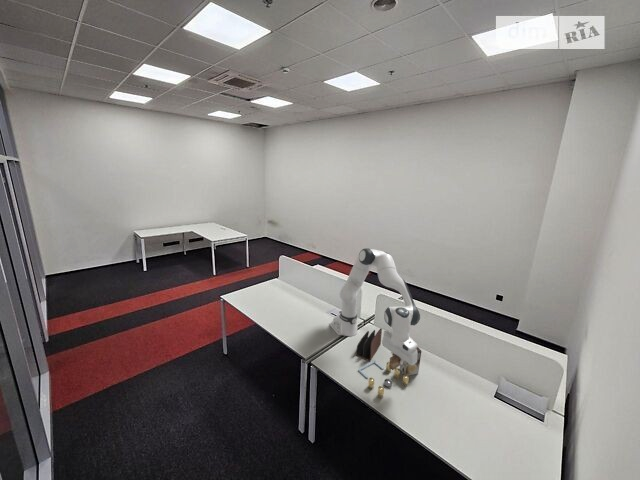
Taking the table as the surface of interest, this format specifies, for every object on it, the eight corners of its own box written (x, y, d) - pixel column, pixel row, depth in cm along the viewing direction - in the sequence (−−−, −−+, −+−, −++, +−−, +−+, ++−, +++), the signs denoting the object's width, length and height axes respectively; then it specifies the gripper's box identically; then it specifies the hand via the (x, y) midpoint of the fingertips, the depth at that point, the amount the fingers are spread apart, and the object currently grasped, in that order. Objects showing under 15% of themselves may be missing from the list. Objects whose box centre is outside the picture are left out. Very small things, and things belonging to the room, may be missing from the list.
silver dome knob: (383, 386, 147) (383, 383, 146) (384, 380, 151) (384, 377, 150) (391, 389, 145) (391, 386, 145) (392, 383, 149) (392, 380, 149)
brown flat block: (389, 367, 139) (389, 357, 137) (401, 359, 144) (402, 350, 143) (392, 370, 137) (393, 360, 135) (404, 362, 142) (405, 352, 141)
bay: (358, 370, 157) (358, 369, 157) (374, 361, 165) (374, 360, 165) (366, 378, 152) (367, 377, 151) (383, 369, 159) (383, 368, 159)
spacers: (363, 383, 149) (363, 375, 147) (388, 368, 160) (388, 361, 159) (383, 402, 137) (384, 394, 136) (408, 384, 149) (409, 377, 147)
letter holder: (380, 344, 182) (382, 326, 178) (370, 361, 165) (372, 342, 162) (367, 339, 187) (368, 322, 183) (355, 355, 170) (357, 336, 167)
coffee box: (412, 366, 163) (415, 343, 159) (418, 373, 157) (422, 350, 153) (399, 368, 160) (402, 346, 156) (404, 376, 154) (408, 353, 150)
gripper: (380, 331, 143) (378, 353, 146) (412, 351, 127) (410, 375, 130) (388, 327, 147) (386, 348, 150) (420, 346, 131) (417, 370, 134)
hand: (397, 361), depth 140 cm, fingers closed on brown flat block, 2 cm apart
